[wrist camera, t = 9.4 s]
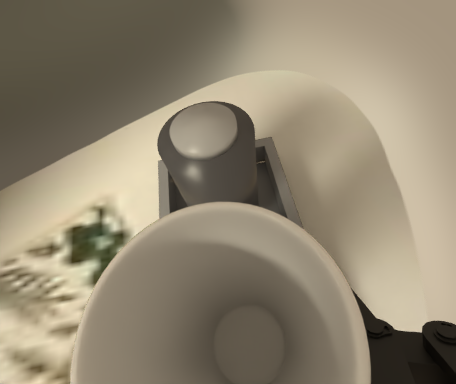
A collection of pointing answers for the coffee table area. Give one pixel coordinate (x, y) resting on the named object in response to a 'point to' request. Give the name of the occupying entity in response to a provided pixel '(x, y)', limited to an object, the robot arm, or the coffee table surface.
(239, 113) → the divided desk organizer
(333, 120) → the coffee table surface
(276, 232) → the drinking glass
